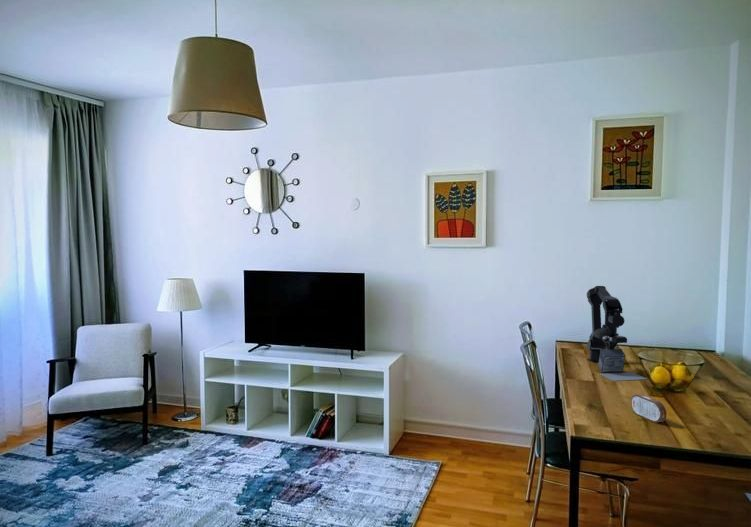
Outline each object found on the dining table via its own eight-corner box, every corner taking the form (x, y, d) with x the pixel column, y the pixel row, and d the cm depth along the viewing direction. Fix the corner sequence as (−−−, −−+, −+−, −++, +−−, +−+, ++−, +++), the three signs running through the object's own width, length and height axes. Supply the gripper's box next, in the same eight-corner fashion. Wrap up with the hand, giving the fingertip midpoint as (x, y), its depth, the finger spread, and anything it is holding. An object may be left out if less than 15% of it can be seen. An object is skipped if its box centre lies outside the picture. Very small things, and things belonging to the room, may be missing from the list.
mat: (598, 374, 255) (599, 373, 255) (630, 372, 258) (630, 372, 258) (614, 381, 243) (614, 380, 243) (647, 379, 246) (647, 378, 246)
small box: (618, 364, 262) (621, 348, 258) (623, 372, 257) (626, 356, 252) (597, 364, 263) (600, 348, 259) (601, 373, 258) (604, 356, 253)
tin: (666, 425, 188) (667, 402, 187) (660, 426, 187) (660, 403, 186) (635, 411, 202) (636, 390, 202) (628, 412, 201) (629, 391, 201)
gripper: (585, 320, 267) (584, 349, 268) (608, 326, 249) (607, 358, 249) (604, 320, 269) (604, 349, 270) (628, 326, 251) (627, 357, 251)
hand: (609, 353), depth 260 cm, fingers closed
